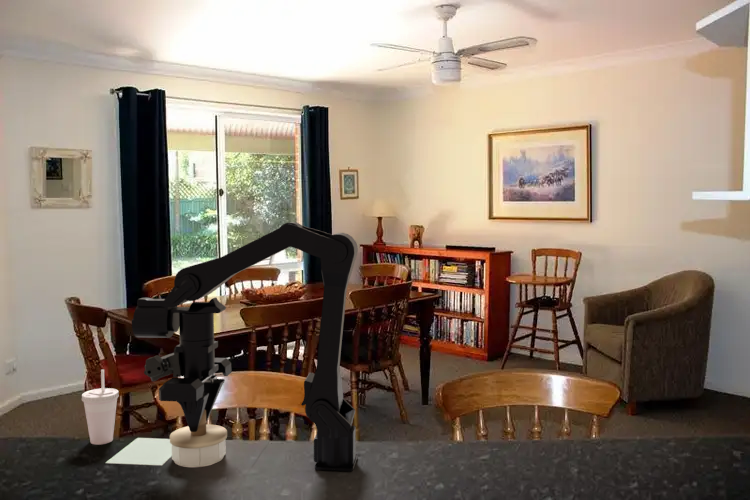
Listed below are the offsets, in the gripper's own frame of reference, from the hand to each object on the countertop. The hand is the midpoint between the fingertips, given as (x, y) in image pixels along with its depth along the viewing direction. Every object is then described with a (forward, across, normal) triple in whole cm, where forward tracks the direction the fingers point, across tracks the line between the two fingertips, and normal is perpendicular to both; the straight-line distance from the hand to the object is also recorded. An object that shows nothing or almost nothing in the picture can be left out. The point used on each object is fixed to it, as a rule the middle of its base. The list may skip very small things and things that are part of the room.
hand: (198, 426), depth 113 cm
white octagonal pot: (+6, 0, 0) cm, 6 cm away
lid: (+2, 0, 0) cm, 2 cm away
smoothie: (+6, -6, -21) cm, 23 cm away
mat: (+6, -2, -10) cm, 12 cm away
